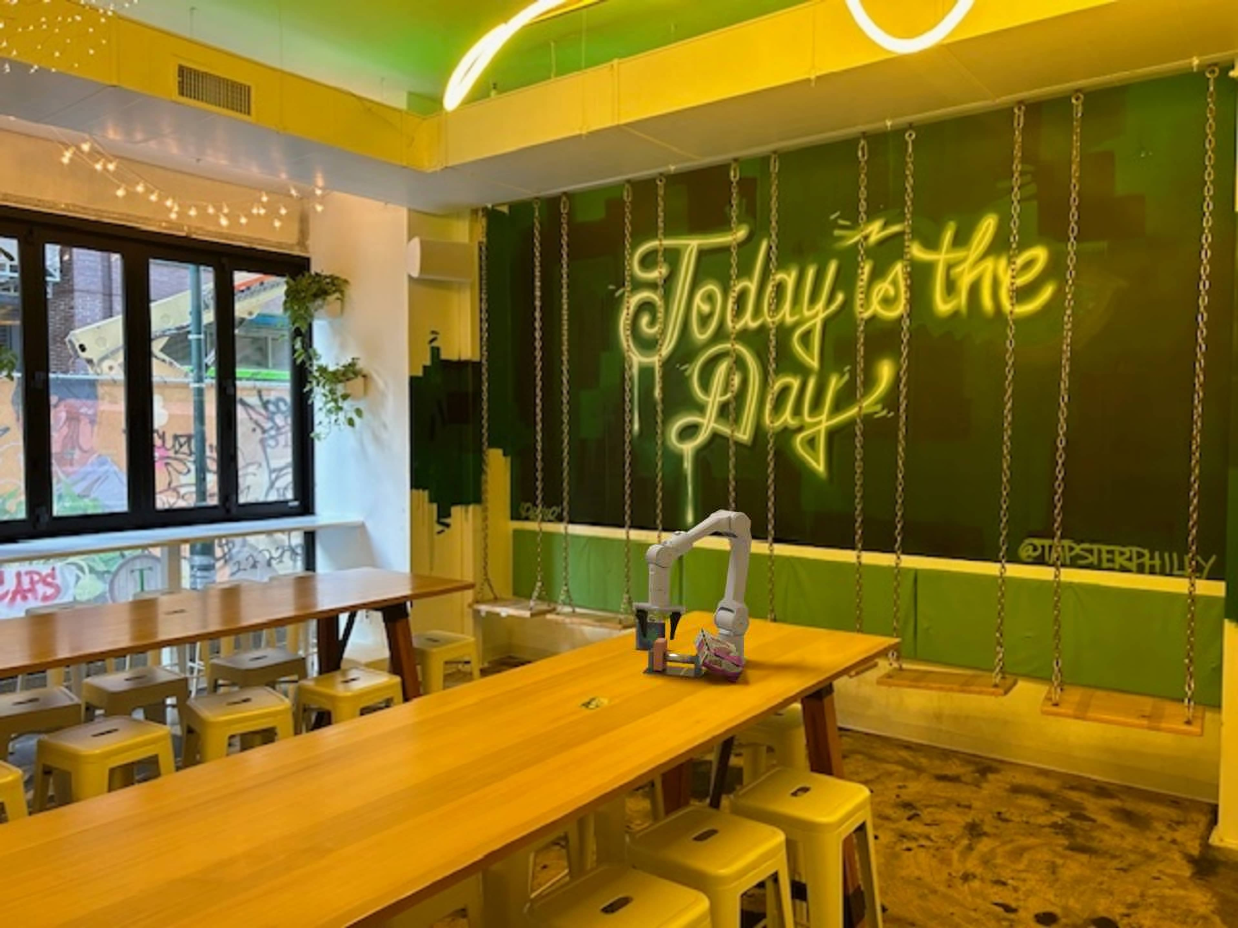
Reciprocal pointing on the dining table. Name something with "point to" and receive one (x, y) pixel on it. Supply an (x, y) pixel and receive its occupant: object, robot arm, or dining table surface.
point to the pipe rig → (677, 670)
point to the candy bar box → (718, 655)
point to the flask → (649, 633)
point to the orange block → (659, 654)
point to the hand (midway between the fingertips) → (658, 638)
